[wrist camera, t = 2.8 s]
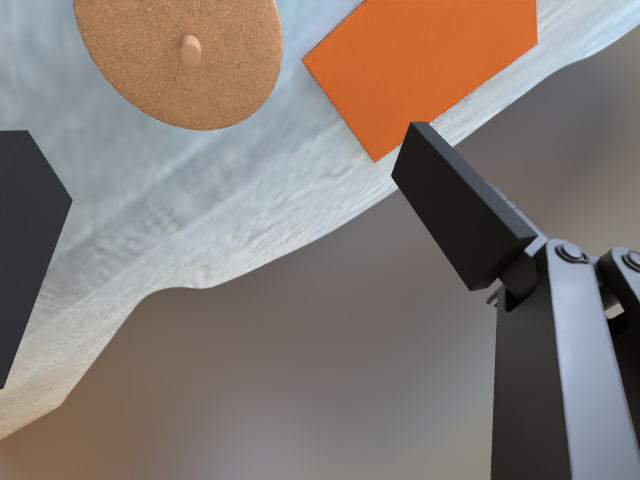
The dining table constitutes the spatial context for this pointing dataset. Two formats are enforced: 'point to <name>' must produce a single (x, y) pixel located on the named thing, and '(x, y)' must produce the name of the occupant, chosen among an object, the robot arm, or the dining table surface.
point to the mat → (415, 60)
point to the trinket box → (186, 56)
